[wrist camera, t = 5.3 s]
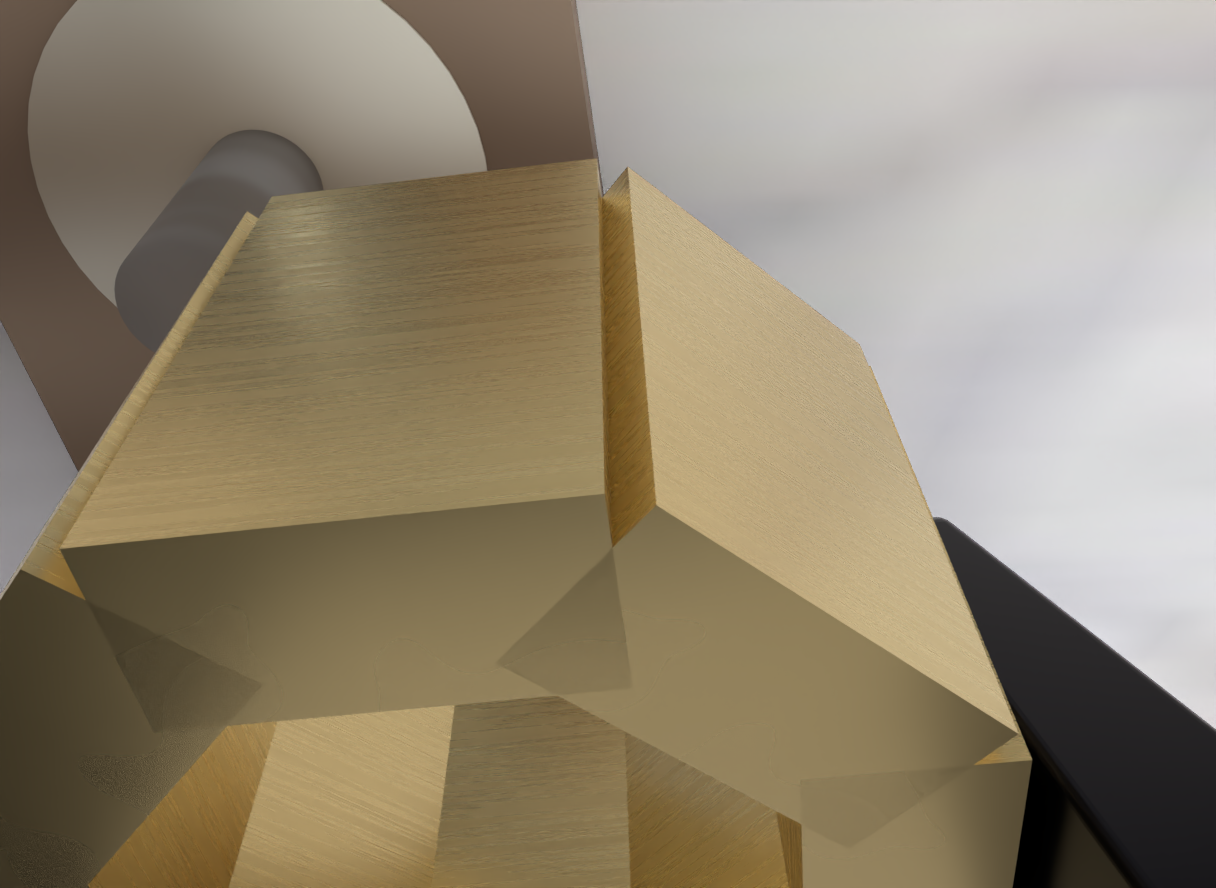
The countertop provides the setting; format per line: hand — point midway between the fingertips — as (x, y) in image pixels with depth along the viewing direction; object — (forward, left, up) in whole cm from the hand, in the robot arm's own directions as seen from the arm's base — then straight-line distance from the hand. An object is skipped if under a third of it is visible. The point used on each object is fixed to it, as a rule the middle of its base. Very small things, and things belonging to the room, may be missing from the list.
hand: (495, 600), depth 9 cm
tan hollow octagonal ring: (0, 0, -1) cm, 1 cm away
